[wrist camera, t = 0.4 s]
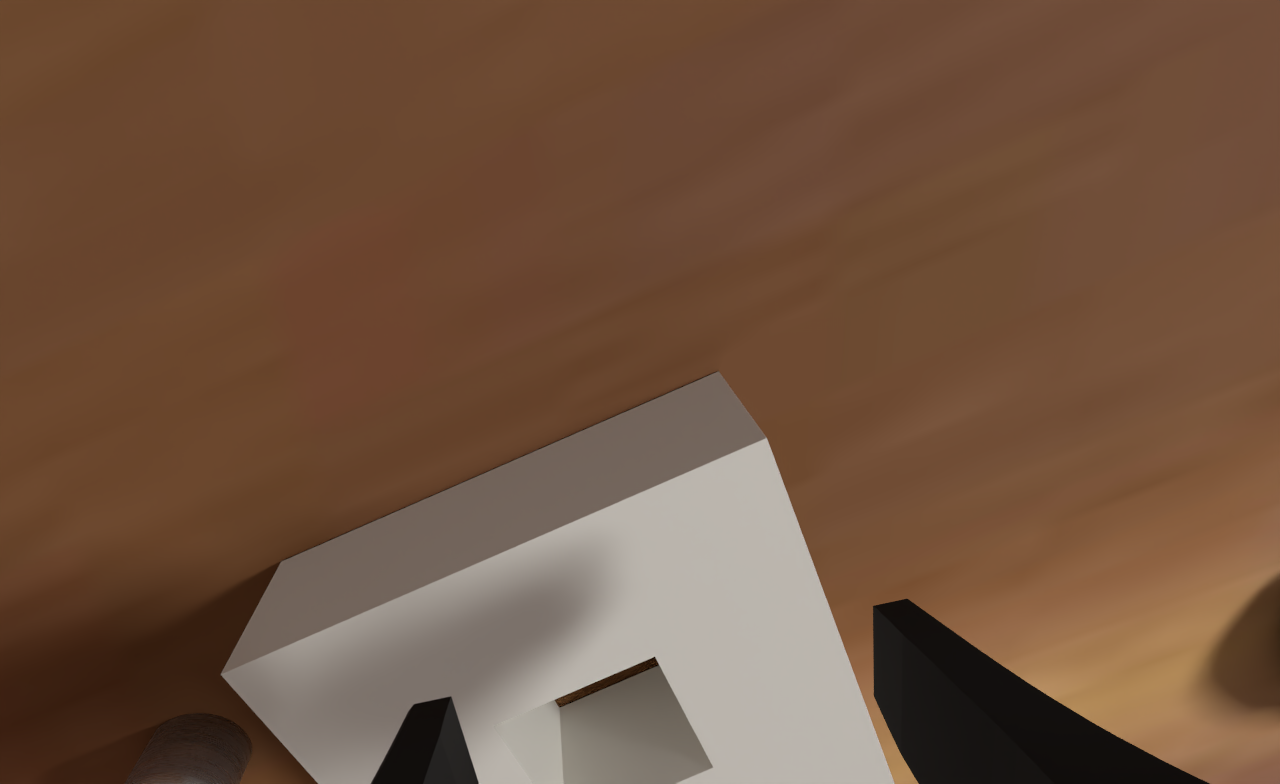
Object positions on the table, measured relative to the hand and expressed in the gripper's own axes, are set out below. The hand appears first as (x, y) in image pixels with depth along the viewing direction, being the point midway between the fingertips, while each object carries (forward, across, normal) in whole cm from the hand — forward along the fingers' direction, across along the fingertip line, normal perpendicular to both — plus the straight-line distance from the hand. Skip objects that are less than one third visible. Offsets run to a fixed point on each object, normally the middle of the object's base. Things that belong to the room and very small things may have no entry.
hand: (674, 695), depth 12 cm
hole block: (+10, +2, +7) cm, 12 cm away
